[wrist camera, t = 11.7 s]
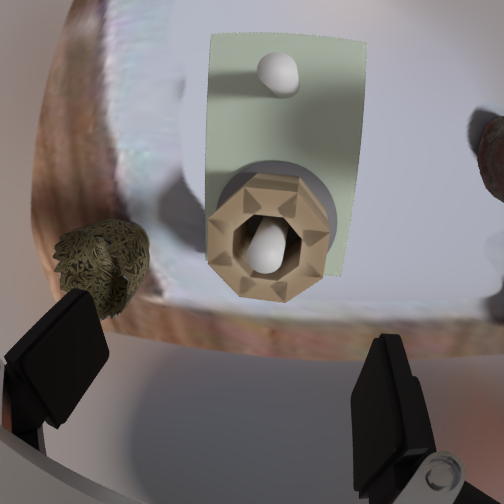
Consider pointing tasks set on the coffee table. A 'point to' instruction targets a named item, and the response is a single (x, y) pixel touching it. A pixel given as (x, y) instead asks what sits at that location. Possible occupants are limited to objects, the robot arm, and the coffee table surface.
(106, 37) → the coffee table surface
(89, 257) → the fiber plant pot
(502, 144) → the brown log
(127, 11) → the coffee table surface
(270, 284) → the collar
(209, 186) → the hub board
